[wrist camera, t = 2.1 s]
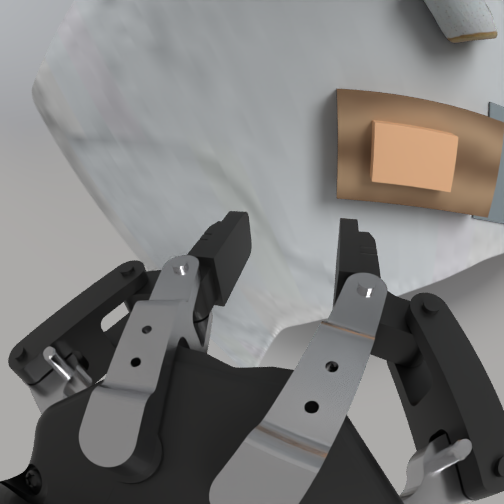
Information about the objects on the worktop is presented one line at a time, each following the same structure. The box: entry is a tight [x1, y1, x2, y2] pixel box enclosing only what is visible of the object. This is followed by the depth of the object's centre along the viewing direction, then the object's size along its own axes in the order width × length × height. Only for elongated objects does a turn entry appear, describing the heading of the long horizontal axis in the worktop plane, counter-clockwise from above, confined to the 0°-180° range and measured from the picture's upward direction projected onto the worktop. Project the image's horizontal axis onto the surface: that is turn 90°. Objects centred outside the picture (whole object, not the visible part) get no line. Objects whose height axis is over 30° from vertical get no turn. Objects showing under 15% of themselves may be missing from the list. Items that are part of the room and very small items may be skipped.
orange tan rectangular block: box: [370, 120, 458, 192], centre depth 22 cm, size 6×9×2 cm, turn 95°
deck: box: [337, 89, 504, 218], centre depth 24 cm, size 12×20×4 cm, turn 95°
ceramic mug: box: [424, 0, 497, 43], centre depth 10 cm, size 11×8×8 cm
